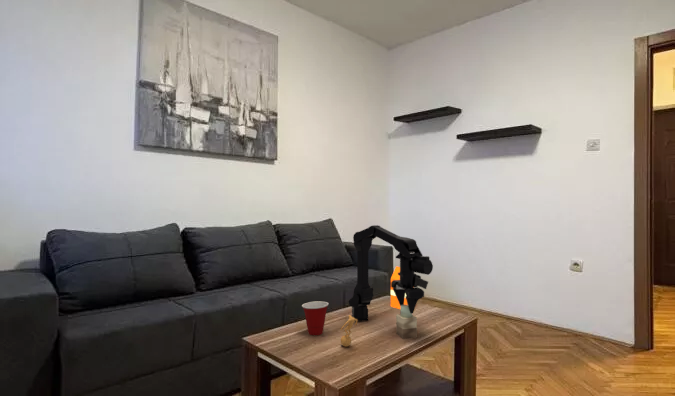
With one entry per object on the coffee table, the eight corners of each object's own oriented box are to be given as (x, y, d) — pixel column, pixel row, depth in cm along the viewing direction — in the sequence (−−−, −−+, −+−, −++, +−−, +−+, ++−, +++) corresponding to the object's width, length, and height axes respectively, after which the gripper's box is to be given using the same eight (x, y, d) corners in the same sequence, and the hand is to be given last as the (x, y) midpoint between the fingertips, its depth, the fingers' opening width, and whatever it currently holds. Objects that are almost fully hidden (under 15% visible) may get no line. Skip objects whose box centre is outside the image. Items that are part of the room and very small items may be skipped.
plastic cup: (311, 326, 162) (311, 298, 162) (333, 331, 157) (333, 302, 157) (296, 334, 153) (296, 304, 153) (318, 339, 147) (318, 308, 147)
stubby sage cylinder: (403, 318, 150) (403, 307, 150) (398, 314, 154) (398, 304, 154) (414, 317, 151) (414, 307, 151) (409, 313, 156) (409, 304, 156)
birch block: (403, 329, 149) (403, 318, 149) (396, 324, 155) (396, 314, 155) (416, 327, 151) (416, 317, 151) (409, 323, 157) (409, 313, 157)
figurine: (349, 341, 146) (350, 310, 146) (361, 346, 141) (361, 313, 141) (334, 347, 140) (334, 314, 140) (345, 352, 135) (346, 318, 135)
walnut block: (402, 339, 149) (402, 329, 149) (396, 334, 155) (396, 324, 155) (416, 338, 151) (416, 327, 151) (409, 332, 156) (410, 323, 156)
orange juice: (403, 310, 187) (404, 269, 187) (390, 306, 194) (390, 267, 194) (414, 307, 192) (414, 267, 192) (400, 303, 199) (400, 265, 199)
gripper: (437, 274, 146) (436, 315, 146) (415, 266, 164) (414, 302, 164) (410, 275, 143) (409, 317, 143) (390, 266, 161) (390, 304, 161)
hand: (406, 309), depth 153 cm, fingers open, 9 cm apart
